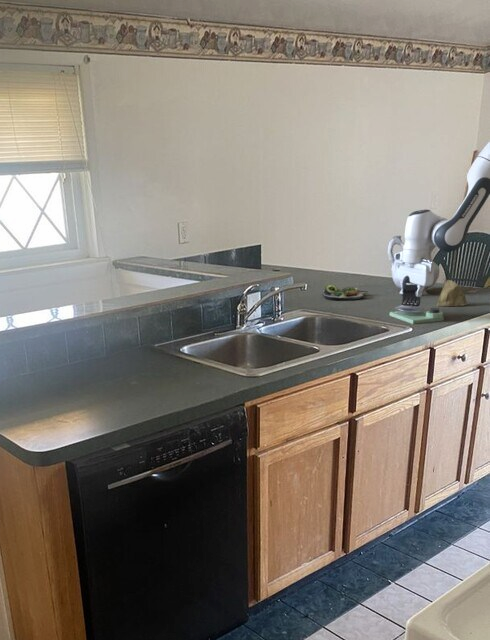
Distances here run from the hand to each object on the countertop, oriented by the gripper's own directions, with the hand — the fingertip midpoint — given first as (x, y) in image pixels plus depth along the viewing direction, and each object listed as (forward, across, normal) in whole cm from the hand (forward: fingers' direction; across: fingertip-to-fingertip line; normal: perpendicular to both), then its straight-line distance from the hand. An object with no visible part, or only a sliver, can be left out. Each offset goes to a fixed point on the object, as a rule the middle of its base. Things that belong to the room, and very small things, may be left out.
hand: (411, 294), depth 245 cm
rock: (+9, +10, -26) cm, 29 cm away
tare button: (+6, -7, -5) cm, 11 cm away
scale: (+9, -2, -1) cm, 9 cm away
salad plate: (+9, +44, +4) cm, 46 cm away
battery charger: (+4, 0, 0) cm, 5 cm away
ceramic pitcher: (+9, +38, -26) cm, 47 cm away
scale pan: (+6, 0, 0) cm, 6 cm away
